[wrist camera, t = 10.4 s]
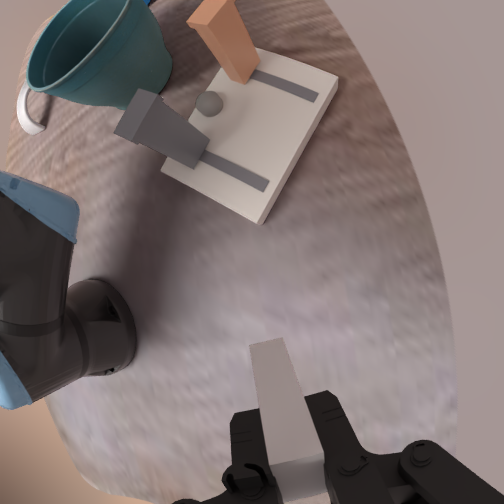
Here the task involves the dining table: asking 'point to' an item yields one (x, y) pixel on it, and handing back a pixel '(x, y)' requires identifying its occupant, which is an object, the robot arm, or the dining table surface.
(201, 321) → the dining table surface
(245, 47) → the terracotta paddle
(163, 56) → the flower pot
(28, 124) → the spoon rest
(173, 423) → the dining table surface
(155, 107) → the gray capped upright block
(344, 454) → the robot arm
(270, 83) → the console
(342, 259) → the dining table surface
